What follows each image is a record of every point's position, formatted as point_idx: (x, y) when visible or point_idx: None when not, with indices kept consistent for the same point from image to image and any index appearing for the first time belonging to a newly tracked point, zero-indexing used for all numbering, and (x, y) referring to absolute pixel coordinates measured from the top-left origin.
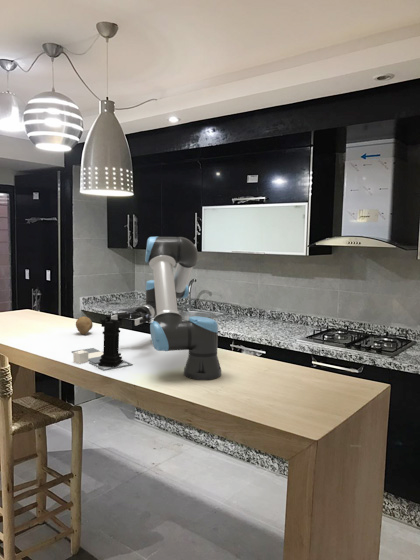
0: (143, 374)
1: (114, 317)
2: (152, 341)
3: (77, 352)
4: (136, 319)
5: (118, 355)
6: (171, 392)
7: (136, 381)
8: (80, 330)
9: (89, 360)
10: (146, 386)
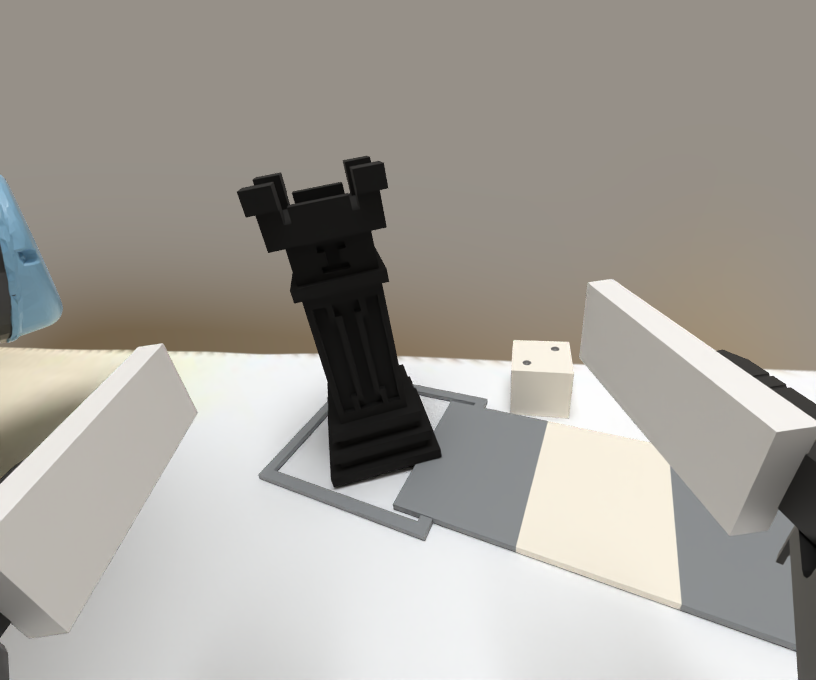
0: None
1: (662, 380)
2: (54, 287)
3: (546, 346)
4: (133, 356)
5: (329, 413)
6: (76, 359)
7: (195, 366)
8: None
9: (510, 413)
10: None
